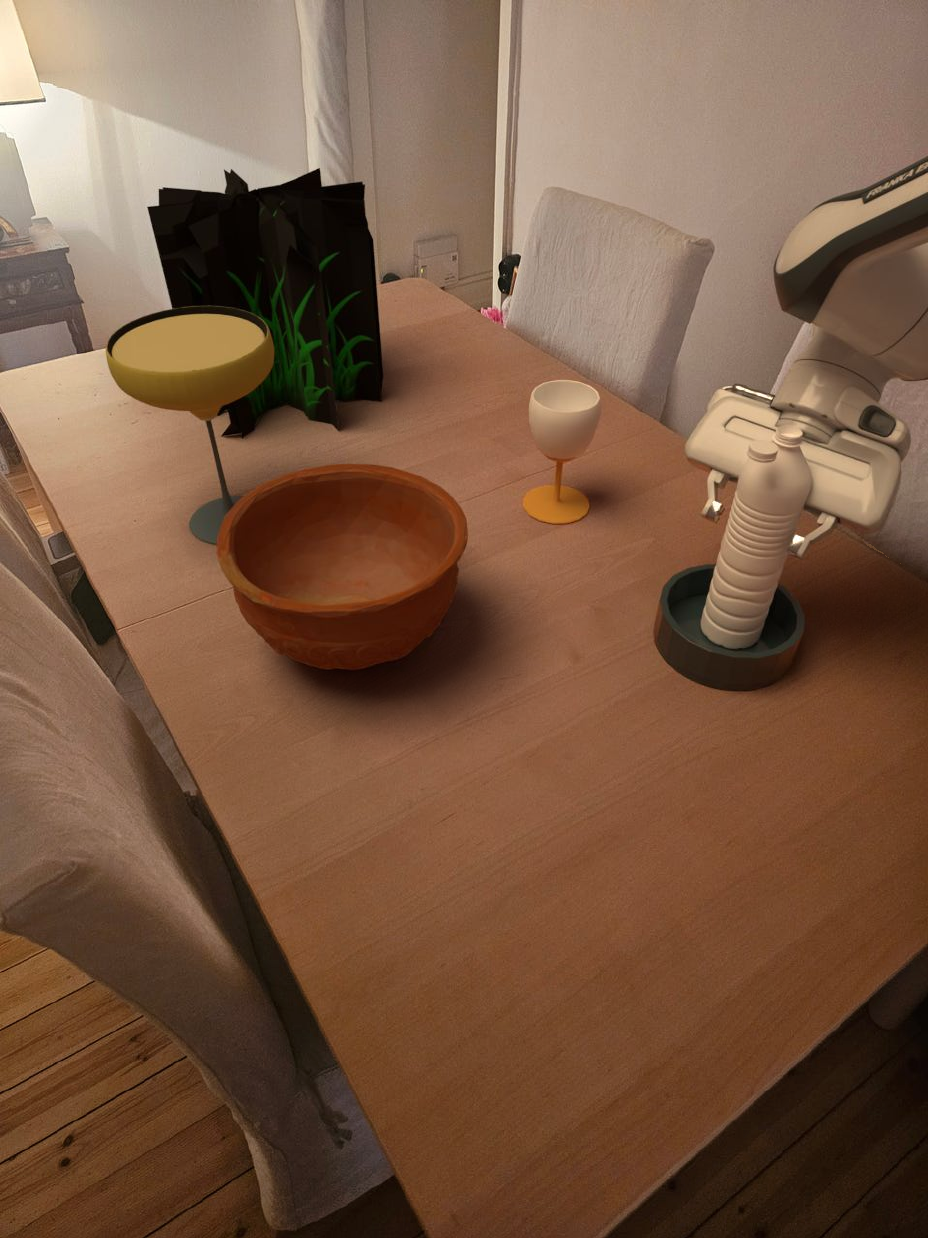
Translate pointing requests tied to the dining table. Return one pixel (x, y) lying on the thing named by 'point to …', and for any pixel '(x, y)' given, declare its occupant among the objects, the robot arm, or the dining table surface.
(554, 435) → the cup
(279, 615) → the bowl
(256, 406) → the decorative plant
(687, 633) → the holder
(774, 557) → the water bottle
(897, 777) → the dining table surface
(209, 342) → the cocktail glass
